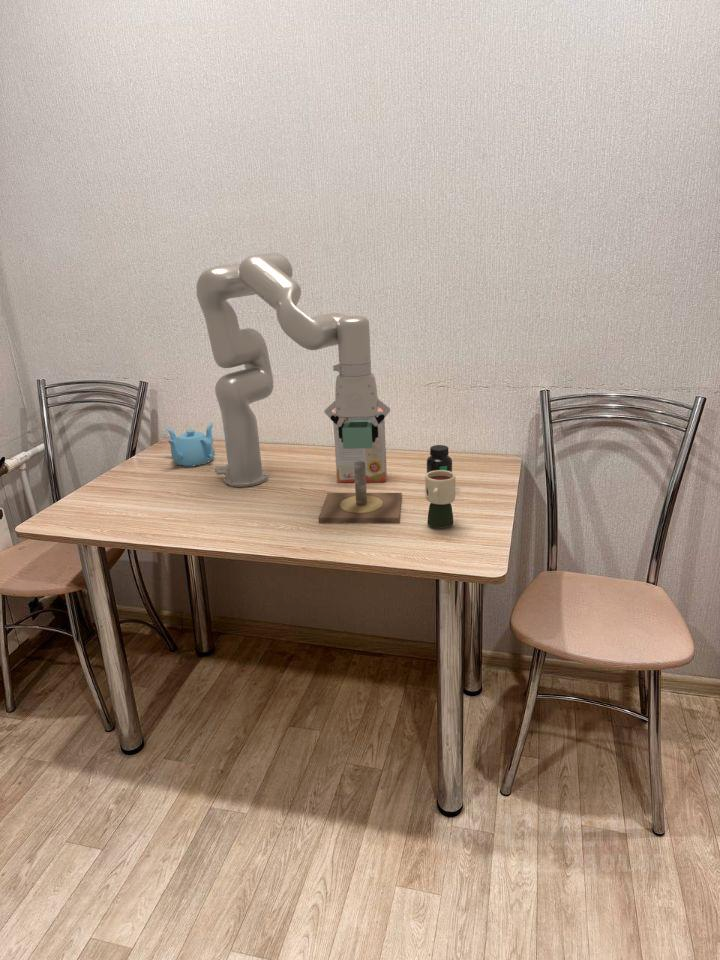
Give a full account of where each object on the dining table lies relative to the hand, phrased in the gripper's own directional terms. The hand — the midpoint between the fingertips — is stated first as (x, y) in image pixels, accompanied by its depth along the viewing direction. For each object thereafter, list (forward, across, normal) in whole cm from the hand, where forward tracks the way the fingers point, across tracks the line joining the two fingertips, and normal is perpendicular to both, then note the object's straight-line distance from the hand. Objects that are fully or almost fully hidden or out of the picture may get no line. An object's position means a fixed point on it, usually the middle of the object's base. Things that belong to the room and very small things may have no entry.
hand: (358, 440), depth 171 cm
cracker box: (+19, -2, +22) cm, 29 cm away
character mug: (+19, +20, -9) cm, 29 cm away
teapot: (+19, -58, +39) cm, 73 cm away
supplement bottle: (+19, +20, +14) cm, 31 cm away
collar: (+1, 0, 0) cm, 1 cm away
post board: (+19, 0, 0) cm, 19 cm away
